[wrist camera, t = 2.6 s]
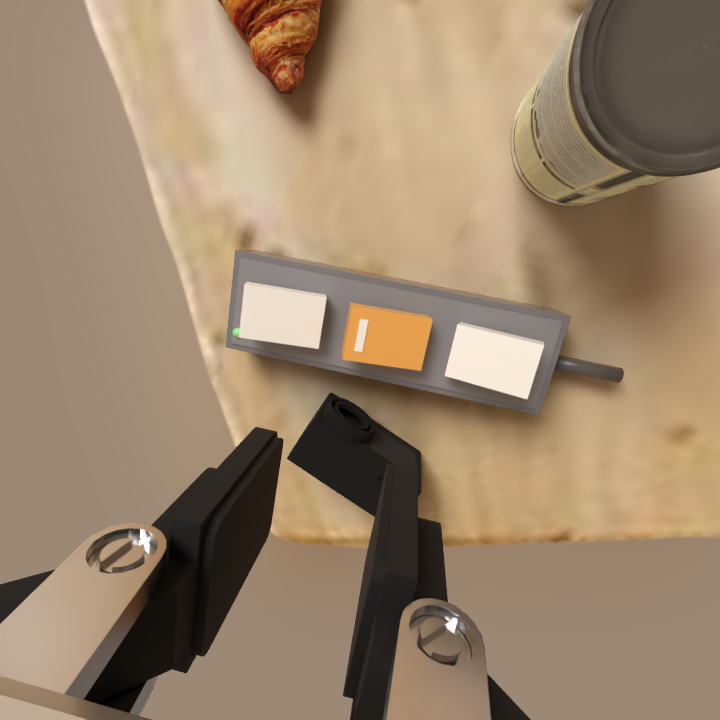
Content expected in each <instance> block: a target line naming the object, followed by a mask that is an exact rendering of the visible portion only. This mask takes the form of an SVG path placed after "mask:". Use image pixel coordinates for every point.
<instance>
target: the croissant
mask: <svg viewBox="0 0 720 720" xmlns="http://www.w3.org/2000/svg"><path fill="white" fill-rule="evenodd" d="M218 1H219V2H220V4H221V5H222V6H223V8H224V9H225V11H226V13H227V14H228V17H229V19H230V21H231V22H232V24H233V25H234V26H235V28H236V30H237V32H238V33H239V35H240V36H241V37H242V39H243V40H244V41H245V42H246V43H247V45H248V46H249V47H250V49H251V54H252V60H253V62H254V63H255V65H256V67H257V69H258V70H259V71H260V72H261V73H263V74H264V75H265V76H266V77H267V78H268V79H269V81H270V82H271V83H272V84H273V86H274V87H275V88H276V89H277V92H279V93H285V94H287V93H288V94H291V93H292V92H293V90H294V88H297V87H299V85H300V82H301V81H303V75H304V62H305V58H304V56H305V55H306V54H307V53H308V52H309V50H310V49H311V47H312V44H313V43H314V41H315V40H316V38H317V33H318V26H319V15H320V8H321V3H322V0H218Z"/></svg>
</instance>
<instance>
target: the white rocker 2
mask: <svg viewBox="0 0 720 720" xmlns="http://www.w3.org/2000/svg"><path fill="white" fill-rule="evenodd" d="M543 348H544V342H542V341H538V340H534V339H530V338H526V337H521V336H517V335H513V334H509V333H505V332H501V331H496V330H492V329H488V328H484V327H480V326H475V325H471V324H467V323H463V322H460V323H459V324H457V328H456V332H455V336H454V340H453V344H452V348H451V352H450V356H449V360H448V364H447V368H446V372H445V376H447V377H450V378H454V379H457V380H461V381H464V382H468V383H471V384H475V385H478V386H482V387H485V388H489V389H492V390H496V391H499V392H503V393H506V394H510V395H513V396H517V397H520V398H524V399H528V396H529V393H530V389H531V386H532V383H533V380H534V377H535V373H536V370H537V367H538V364H539V361H540V357H541V354H542V351H543Z"/></svg>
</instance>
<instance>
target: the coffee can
mask: <svg viewBox="0 0 720 720" xmlns="http://www.w3.org/2000/svg"><path fill="white" fill-rule="evenodd" d="M511 152H512V158H513V162H514V165H515V168H516V170H517V172H518V174H519V176H520V178H521V179H522V181H523V182H524V183H525V185H526V186H527V187H528V189H529V190H531V191H532V192H534V193H535V194H536V195H537V196H539V197H540V198H542V199H544V200H546V201H548V202H551V203H554V204H558V205H563V206H580V205H586V204H591V203H594V202H597V201H600V200H602V199H605V198H607V197H610V196H614V195H618V194H621V193H624V192H627V191H630V190H634V189H637V188H640V187H645V186H648V185H651V184H655V183H659V182H662V181H665V180H667V179H671V178H674V177H678V176H685V175H691V174H696V173H701V172H706V171H710V170H713V169H716V168H719V167H720V0H589V1H588V3H587V5H586V7H585V9H584V11H583V13H582V14H581V16H580V17H579V19H578V20H577V22H576V23H575V25H574V26H573V28H572V29H571V30H570V32H569V33H568V35H567V36H566V38H565V39H564V41H563V42H562V44H561V45H560V47H559V48H558V50H557V51H556V53H555V54H554V56H553V57H552V59H551V60H550V62H549V63H548V65H547V66H546V68H545V69H544V71H543V72H542V74H541V75H540V77H539V78H538V80H537V81H536V83H535V84H534V85H533V86H532V87H531V88H530V90H529V91H528V93H527V94H526V96H525V97H524V99H523V100H522V102H521V104H520V106H519V109H518V111H517V113H516V116H515V119H514V123H513V127H512V133H511Z"/></svg>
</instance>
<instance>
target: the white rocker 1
mask: <svg viewBox="0 0 720 720" xmlns="http://www.w3.org/2000/svg"><path fill="white" fill-rule="evenodd" d="M326 300H327V297H326V295H325V294H319V293H313V292H307V291H301V290H295V289H289V288H283V287H277V286H271V285H265V284H259V283H253V282H246V283H245V284H244V292H243V301H242V311H241V320H240V329H239V338H246V339H253V340H260V341H267V342H274V343H281V344H288V345H295V346H302V347H308V348H315V349H319V343H320V337H321V330H322V324H323V318H324V312H325V306H326Z"/></svg>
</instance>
